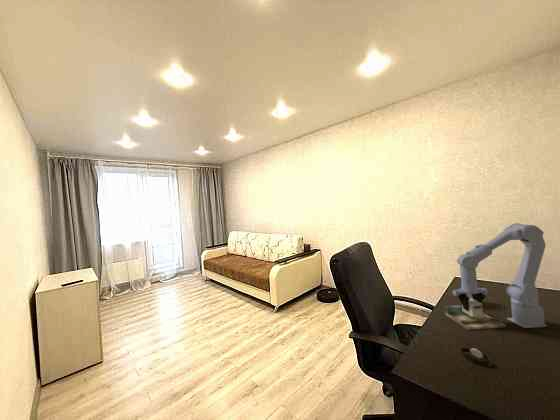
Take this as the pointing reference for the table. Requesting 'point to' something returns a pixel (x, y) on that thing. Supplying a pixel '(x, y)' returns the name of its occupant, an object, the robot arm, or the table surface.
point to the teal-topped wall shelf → (472, 319)
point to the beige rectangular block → (474, 308)
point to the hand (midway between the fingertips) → (471, 309)
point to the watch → (477, 354)
